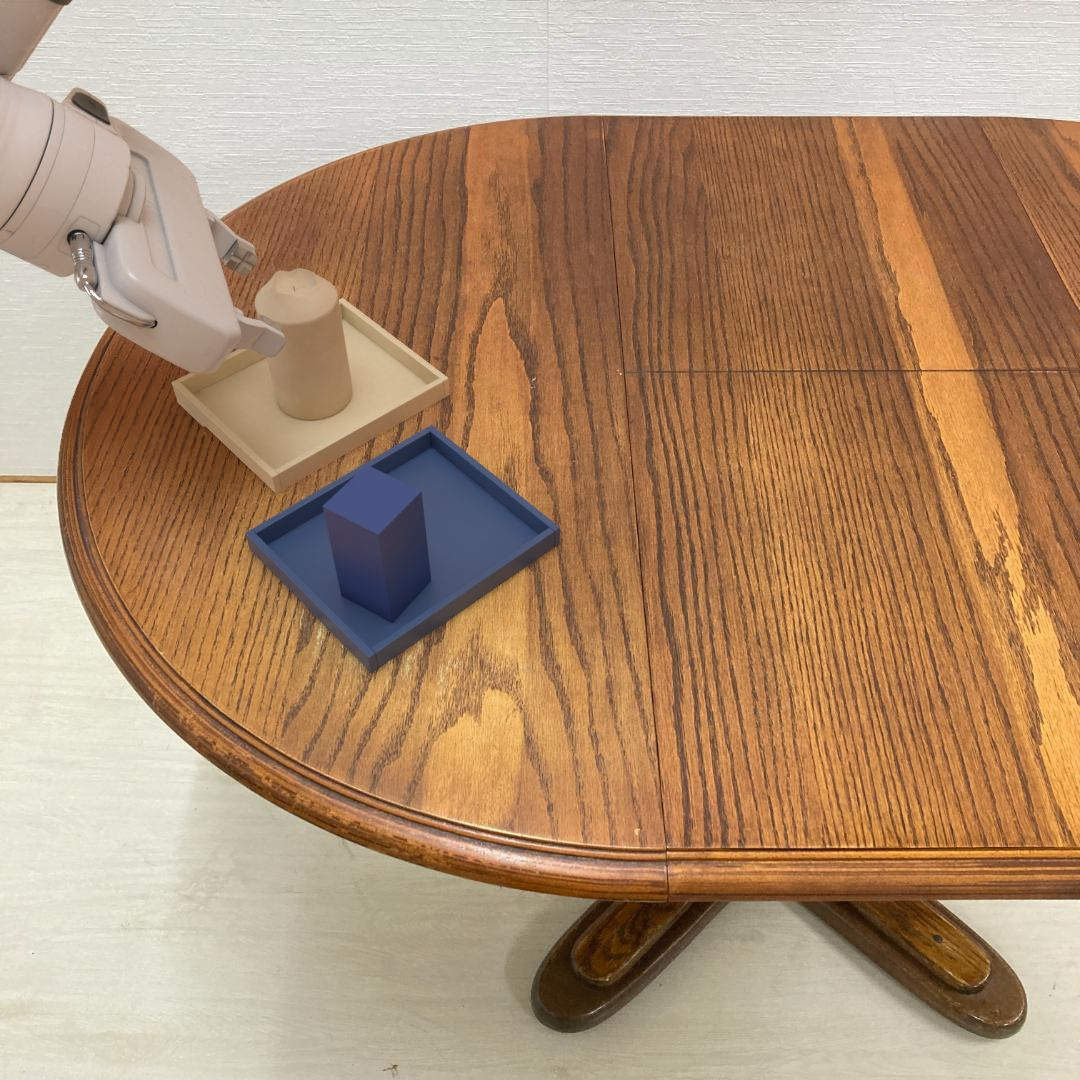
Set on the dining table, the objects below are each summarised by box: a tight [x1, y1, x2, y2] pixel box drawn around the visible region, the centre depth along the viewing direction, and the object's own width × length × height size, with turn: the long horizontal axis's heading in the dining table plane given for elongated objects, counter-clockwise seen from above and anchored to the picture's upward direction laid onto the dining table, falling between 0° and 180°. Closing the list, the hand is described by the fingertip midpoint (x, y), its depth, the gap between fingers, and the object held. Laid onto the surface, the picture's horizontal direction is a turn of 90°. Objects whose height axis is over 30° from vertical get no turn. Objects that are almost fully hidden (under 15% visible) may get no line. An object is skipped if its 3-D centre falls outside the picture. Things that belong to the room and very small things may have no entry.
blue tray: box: [244, 424, 561, 674], centre depth 70 cm, size 15×13×2 cm
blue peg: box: [323, 465, 431, 623], centre depth 66 cm, size 4×4×8 cm
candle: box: [254, 267, 352, 420], centre depth 77 cm, size 6×6×10 cm
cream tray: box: [171, 297, 451, 494], centre depth 80 cm, size 15×13×2 cm
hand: (265, 301), depth 73 cm, fingers open, 8 cm apart
